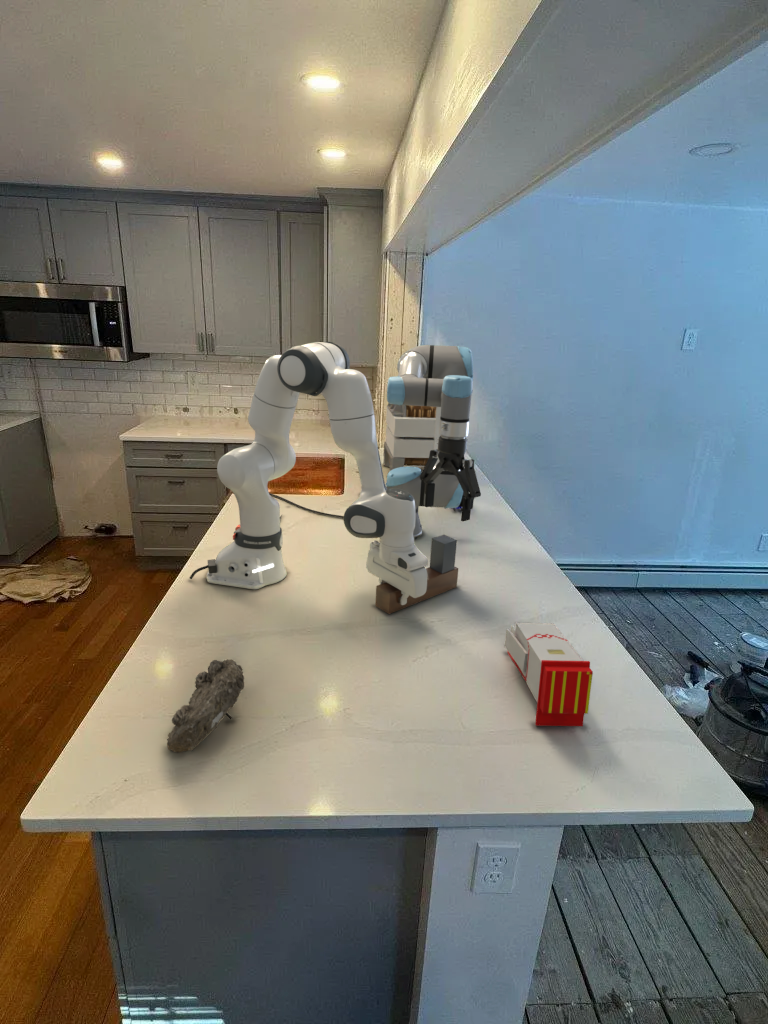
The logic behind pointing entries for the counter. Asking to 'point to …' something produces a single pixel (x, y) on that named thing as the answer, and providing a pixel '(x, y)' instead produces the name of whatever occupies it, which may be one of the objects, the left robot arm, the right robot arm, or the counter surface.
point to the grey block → (443, 553)
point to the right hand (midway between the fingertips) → (446, 513)
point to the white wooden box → (408, 435)
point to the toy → (551, 672)
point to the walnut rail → (435, 586)
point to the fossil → (206, 705)
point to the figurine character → (460, 503)
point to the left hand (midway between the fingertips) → (393, 598)
